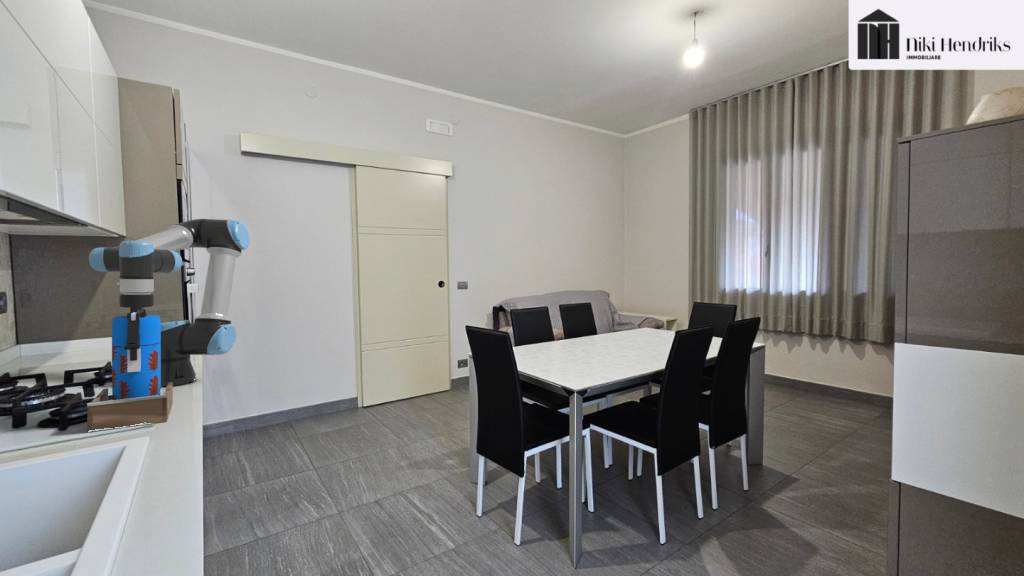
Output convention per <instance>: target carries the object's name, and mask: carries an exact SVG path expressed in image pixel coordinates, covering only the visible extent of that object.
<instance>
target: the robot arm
mask: <svg viewBox="0 0 1024 576" xmlns="http://www.w3.org/2000/svg"><path fill="white" fill-rule="evenodd" d="M249 245H250V234H249V231H248V228H247V226H246V225H245V224H244V223H243V221H240V220H236V219H235V220H232V219H218V218H217V219H216V218H215V219H214V218H213V219H212V218H197V219H196V218H195V219H191V220H190V219H189V220H187V221H183V222H179V223H176V224H173V225H170V226H168V227H167V228H166V230H163V231H160V232H157V233H155V234H152V235H148V236H146V237H142V238H139V239H135V240H123V241H121V242H120V243H119V245H117V246H114V247H107V246H105V247H104V246H103V247H95V248H94V249H92V250H91V251H90V253H89V255H88V262H89V265H90V267H91V268H92V269H93V270H95V271H98V272H106V273H119V281H117V282H116V286H119V292H120V293H121V294H120V295H119V296H118V297H119V307H121V308H127V309H128V308H129V312H128V313H127V314H126V316H127V318H128V325H127V344H126V347H124V350H127V370H128V372H137V371H141V351H140V334H139V325H140V318H145V317H146V316H147V310H146V309H145V308H149V307H153V306H154V305H155V304H154V303H155V302H154V298H155V297H154V294H153V292H155V279H154V274H172V273H176V272H178V271H179V270H180V269H181V267H182V265H183V259H182V256H181V255H180V254H179V253H178V252H177V250H187V249H189V248H192V249H193V248H200V249H201V248H202V249H203V248H204V249H205V250H206V252H207V253H208V254H209V260H208V266H207V271H206V272H207V273H206V277H205V285H204V292H203V296H202V297H203V298H202V302H201V303H202V304H201V309H200V314H199V315H198V316H196V317H195V318H194V321H193V322H194V323H192V322H191V320H190V319H183V320H174V321H173V320H172V321H166V322H161V386H166V387H167V385H168V383H171V382H173V387H175V386H181V385H185V384H190V383H192V382H191V381H193V380H194V379H197V378H196V375H197V374H196V371H195V369H194V367H193V364H192V361H191V355H193V356H194V355H195V356H198V355H199V356H218V355H219V356H220V355H221V356H222V355H224V354H227V353H228V352H230V350H232V348H233V347H234V344H235V342H236V339H237V328H236V327H235V325H233V324H232V320H231V319H230V317H228V315H229V307H230V301H231V294H232V286H233V280H234V274H235V269H236V267H235V266H236V259H237V258H239V257H240V256H242V251H244V250H247V249H248V247H249ZM189 382H190V383H189ZM193 382H194V381H193Z"/></svg>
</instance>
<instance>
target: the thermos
mask: <svg viewBox="0 0 1024 576" xmlns="http://www.w3.org/2000/svg"><path fill="white" fill-rule="evenodd" d="M161 323H162V322H161V317H160V315H157V314H156V315H154V314H149V315H147V316H146V317H145V318H140V325H139V334H140V351H141V371H137V372H128V370H127V350H124V347H126V344H127V325H128V318H127V315H121V316H114V317H112V320H111V378H112V379H111V393H112V400H119V399H129V398H138V397H147V396H157V395H161V388H162V387H161Z"/></svg>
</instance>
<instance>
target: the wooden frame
mask: <svg viewBox="0 0 1024 576" xmlns="http://www.w3.org/2000/svg"><path fill="white" fill-rule="evenodd" d="M173 387H174V386H173V382H171V383H168V385H167V386H166V387H165V390H164V393H163V394H160V395H157V396H147V397H138V398H129V399H119V400H113V399H111V400H109V388H103V389H102V390H101V391H100V392H99V393H98V394H97V395H96V396H95V397H94V398H93V400H91V402H88V403H86V405H87V407H86V409H87V413H86V414H87V421H86V422H87V425H86V426H87V427H86V429H87V430H86V432H87V431H89V430H95V429H104V428H115V427H123V426H130V425H135V424H140V423H144V422H146V423H154V424H153V425H155V424H163V423H167V422H168V419H169V416H170V413H171V410H172V407H173V402H174V400H173V397H174V396H173V395H174V393H173V392H174V391H173Z"/></svg>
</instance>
